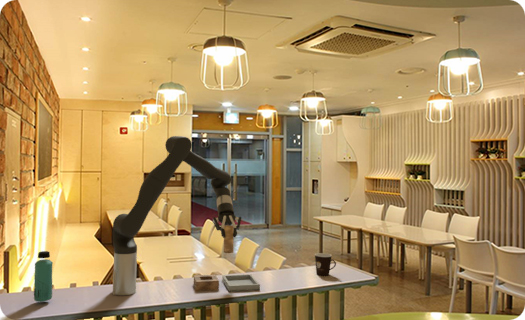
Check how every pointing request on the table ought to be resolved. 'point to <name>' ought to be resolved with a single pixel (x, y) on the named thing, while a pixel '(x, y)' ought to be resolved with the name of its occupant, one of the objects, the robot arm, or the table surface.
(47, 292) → the beverage bottle
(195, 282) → the walnut block
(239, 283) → the slate grey tray
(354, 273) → the table surface
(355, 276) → the table surface
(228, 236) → the oak dowel
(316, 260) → the coffee mug
